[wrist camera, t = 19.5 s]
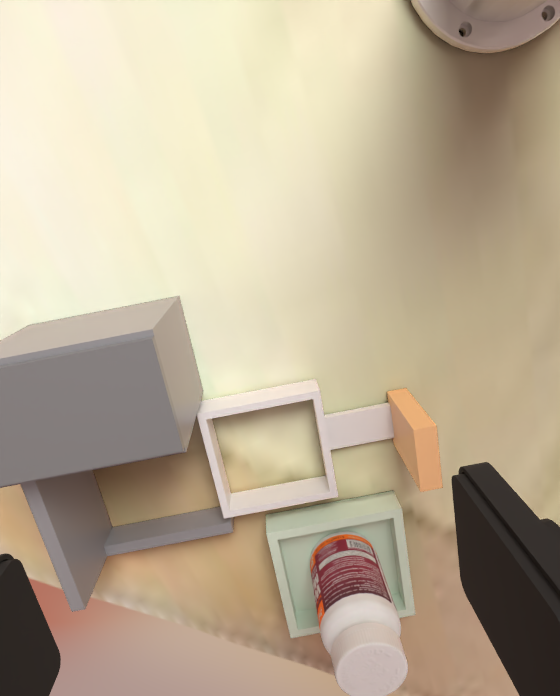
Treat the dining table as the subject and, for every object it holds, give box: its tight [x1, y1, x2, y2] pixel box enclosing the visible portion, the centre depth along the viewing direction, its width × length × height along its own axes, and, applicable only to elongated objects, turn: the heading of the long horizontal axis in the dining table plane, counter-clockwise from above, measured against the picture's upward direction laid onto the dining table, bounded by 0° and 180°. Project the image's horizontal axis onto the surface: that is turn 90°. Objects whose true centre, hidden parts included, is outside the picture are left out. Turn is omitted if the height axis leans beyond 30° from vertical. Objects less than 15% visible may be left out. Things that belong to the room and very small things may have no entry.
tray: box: [266, 491, 416, 638], centre depth 43 cm, size 12×12×3 cm
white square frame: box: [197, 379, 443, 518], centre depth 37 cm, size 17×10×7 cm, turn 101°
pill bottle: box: [310, 531, 408, 696], centre depth 39 cm, size 6×6×11 cm
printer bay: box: [0, 296, 234, 612], centre depth 35 cm, size 12×20×11 cm, turn 11°
